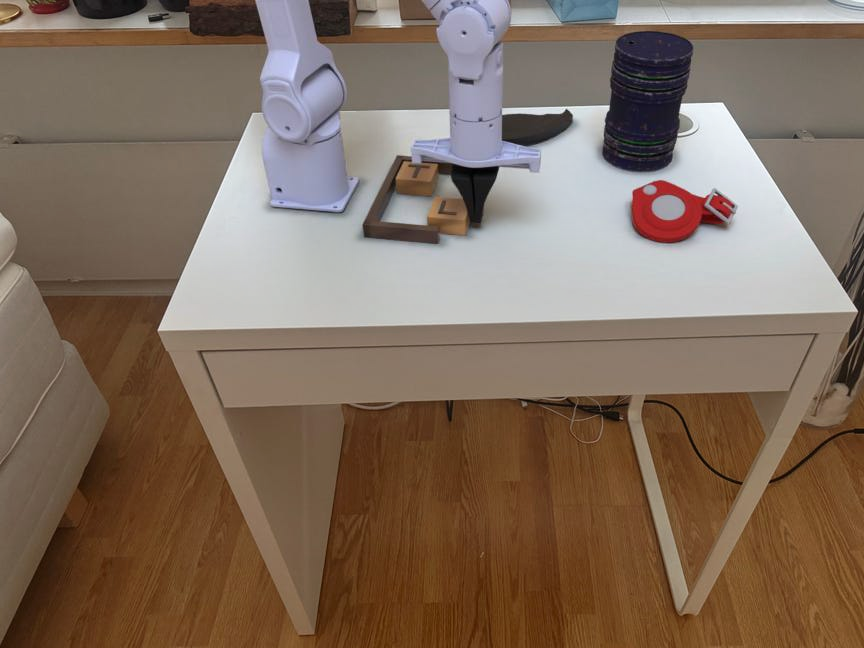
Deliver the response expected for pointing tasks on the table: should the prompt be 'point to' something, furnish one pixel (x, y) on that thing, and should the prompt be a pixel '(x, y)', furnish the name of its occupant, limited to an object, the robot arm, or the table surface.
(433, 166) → the t tile
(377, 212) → the frame
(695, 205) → the tracker holder
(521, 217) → the table surface
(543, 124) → the dark sector wedge
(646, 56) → the dark blue barrel
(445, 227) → the l tile
